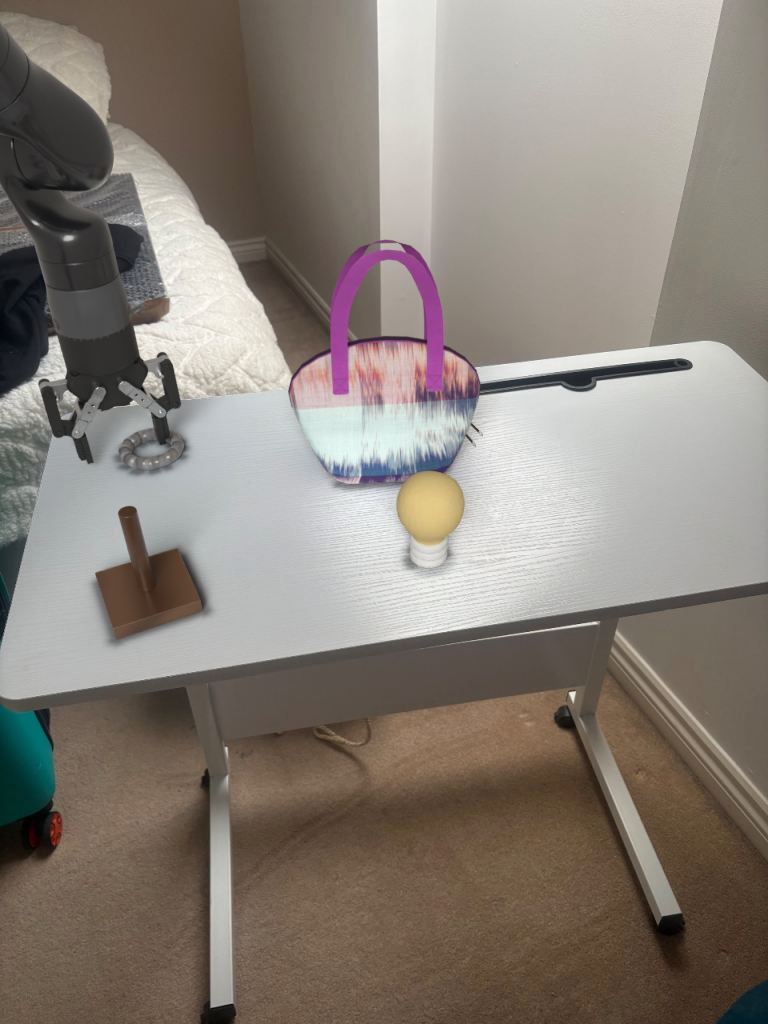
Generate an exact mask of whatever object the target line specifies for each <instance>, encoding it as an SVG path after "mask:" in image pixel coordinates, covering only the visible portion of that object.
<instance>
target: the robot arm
mask: <svg viewBox="0 0 768 1024" xmlns="http://www.w3.org/2000/svg"><path fill="white" fill-rule="evenodd" d="M114 161H115V151H114V146H113V141H112V138H111V136H110V133H109V130H108V128H107V126H106V124H105V123H104V121H103V120H102V118H101V116H100V115H99V114H98V113H97V111H96V110H95V109H94V108H93V107H92V106H91V105H90V104H89V103H88V102H87V101H86V100H84V98H82V97H81V96H80V95H79V94H77V92H75V91H74V90H73V89H71V88H70V87H69V86H67V85H66V84H65V83H64V82H62V81H61V80H60V79H58V78H57V77H56V76H54V75H53V74H52V73H50V71H48V70H46V69H45V68H43V67H42V66H40V65H39V64H37V63H36V62H34V61H33V60H32V59H31V58H30V57H29V55H28V54H27V53H26V52H25V50H24V49H23V47H22V46H21V45H20V44H19V43H18V42H17V40H16V39H15V37H14V36H13V35H12V34H11V32H10V31H9V30H8V29H7V28H6V26H5V25H4V24H3V23H2V21H1V20H0V187H1V190H2V191H3V192H4V194H5V196H6V197H7V199H8V200H9V203H10V204H11V206H12V207H13V209H14V211H15V213H16V214H17V216H18V218H19V220H20V222H21V223H22V226H23V227H24V228H25V230H26V232H27V233H28V235H29V237H30V238H31V240H32V243H33V245H34V249H35V252H36V255H37V259H38V263H39V266H40V271H41V274H42V277H43V280H44V284H45V291H46V297H47V303H48V308H49V312H50V316H51V318H52V319H51V320H52V321H51V322H52V324H53V327H54V330H55V333H56V336H57V341H58V344H59V347H60V350H61V354H62V358H63V361H64V365H65V368H66V373H65V375H64V378H62V379H57V380H51V381H50V380H49V379H48V378H40V379H39V381H38V383H37V385H38V388H39V389H38V390H39V393H40V396H41V399H42V402H43V406H44V410H45V413H46V417H47V420H48V423H49V426H50V430H51V432H52V436H54V438H56V439H61V438H64V437H70V438H71V439H72V440H73V445H74V447H75V450H76V451H75V452H76V454H77V456H78V459H79V460H80V461H81V462H83V461H86V463H87V465H92V464H95V461H94V457H93V454H92V450H91V447H90V443H89V440H88V437H87V434H86V430H87V428H88V425H89V423H92V422H93V419H94V417H95V415H96V413H97V410H98V411H100V412H105V411H106V412H107V411H109V410H112V409H114V408H116V407H127V406H131V403H132V402H133V401H134V402H135V403H137V404H138V405H139V406H141V407H142V408H143V409H145V410H148V411H149V412H150V416H151V420H152V421H151V422H152V425H153V428H154V430H155V435H156V438H157V440H156V441H157V442H158V444H159V446H163V445H166V444H167V442H166V440H165V439H168V438H169V437H170V431H169V430H170V426H169V422H168V417H167V416H168V413H169V412H170V411H172V410H177V409H179V408H181V406H182V400H181V396H180V392H179V386H178V382H177V381H178V380H177V378H176V371H175V368H174V364H173V362H172V361H171V358H170V357H169V355H168V353H166V351H165V352H164V351H160V352H158V353H157V354H156V357H153V358H149V359H146V360H144V359H143V358H142V357H141V354H140V351H139V345H138V340H137V335H136V332H135V327H134V323H133V317H132V308H131V304H130V303H129V299H128V294H127V291H126V287H125V285H124V282H123V280H122V277H121V274H120V270H119V265H118V262H117V256H116V252H115V246H114V242H113V238H112V234H111V230H110V227H109V224H108V222H107V220H106V219H105V218H104V216H103V215H101V214H100V213H98V212H96V211H94V210H91V209H88V208H86V207H83V206H81V205H78V204H77V203H74V202H72V201H71V200H69V199H68V198H67V197H66V196H65V193H63V192H73V193H87V192H91V191H92V192H93V191H95V190H97V189H99V188H100V187H102V186H103V185H104V184H105V183H106V182H107V181H108V179H109V177H110V176H111V174H112V172H113V168H114ZM149 373H153V375H154V376H155V378H157V379H161V384H162V389H163V393H164V394H163V395H161V396H160V397H158V396H156V395H155V394H154V393H153V392H151V390H149V389H148V387H146V386H145V384H144V383H145V380H146V379H147V377H148V375H149ZM67 391H68V392H69V393H70V394H72V395H73V396H75V397H76V399H75V401H74V404H73V409H72V411H71V414H70V416H69V418H68V419H62V416H61V413H60V410H59V409H60V408H59V406H58V404H59V403H61V402H62V401H63V400H64V394H65V393H66V392H67Z"/></svg>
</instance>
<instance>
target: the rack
mask: <svg viewBox="0 0 768 1024" xmlns="http://www.w3.org/2000/svg"><path fill="white" fill-rule="evenodd" d="M117 516H118V519H119V523H120V528H121V530H122V534H123V538H124V541H125V545H126V549H127V553H128V556H129V560H130V561H129V562H126V563H123V564H119V565H116V566H112V567H110V568H106V569H103V570H100V571H96V572H95V573H94V575H95V578H96V583H97V585H98V588H99V591H100V594H101V597H102V600H103V603H104V607H105V610H106V613H107V616H108V619H109V623H110V625H111V629H112V632H113V635H114V637H115V640H120V639H124V638H126V637H130V636H132V635H135V634H138V633H141V632H144V631H148V630H151V629H153V628H157V627H159V626H162V625H166V624H168V623H171V622H174V621H178V620H181V619H185V618H187V617H189V616H193V615H195V614H198V613H201V612H203V611H204V609H203V608H204V607H203V603H202V600H201V597H200V595H199V593H198V590H197V588H196V586H195V584H194V581H193V580H192V577H191V575H190V573H189V570H188V568H187V566H186V564H185V561H184V559H183V557H182V554H181V552H180V550H179V548H178V547H176V548H172V549H169V550H166V551H163V552H159V553H156V554H153V555H149V552H148V548H147V545H146V541H145V536H144V533H143V529H142V524H141V521H140V517H139V513H138V509H137V508H136V507H135V506H133V505H125V506H122V507H120V508H119V510H118V511H117Z"/></svg>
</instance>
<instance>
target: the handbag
mask: <svg viewBox="0 0 768 1024" xmlns="http://www.w3.org/2000/svg"><path fill="white" fill-rule="evenodd" d="M376 244H377V245H378V244H399V245H400V246H401V248H402V249H403V250H404V251H402V250H398V249H397V250H396V249H381V250H374V251H370V252H369V253H367V254H365V253H366V251H367V250H368V248H369V247H370V246H372V245H376ZM364 254H365V255H364ZM384 261H396V262H398V263H400V264H401V265H403V266H404V267H405V268H406V269H407V271H408V272H409V274H410V275H411V277H412V280H413V281H414V283H415V285H416V288H417V290H418V292H419V295H420V298H421V300H422V309H423V338H420V337H414V336H406V335H379V336H371V337H363V338H362V337H361V338H357V339H354V340H350V341H348V334H349V333H348V331H349V320H350V319H349V318H350V312H351V308H352V304H353V302H354V299H355V297H356V294H357V292H358V290H359V288H360V286H361V284H362V282H363V280H364V278H365V276H366V275H367V273H368V272H369V270H370V269H371V268H372V267H373V266H375V265H376V264H378V263H380V262H384ZM330 304H331V305H330V321H329V323H330V324H329V325H330V327H329V328H330V329H329V331H330V332H329V333H330V337H329V338H330V347H329V348H327V349H324V350H322V351H320V352H317V353H316V354H314V355H313V356H311V357H310V358H308V359H307V360H305V361H304V362H302V363H301V364H300V366H299V367H298V368H297V370H296V371H295V372H294V374H293V375H292V376H291V378H290V381H289V385H288V390H287V392H288V397H289V402H290V407H291V408H292V411H293V413H294V415H295V418H296V420H297V422H298V424H299V427H300V428H301V431H302V433H303V434H304V436H305V438H306V440H307V441H308V444H309V445H310V447H311V449H312V451H313V452H314V454H315V456H316V457H317V459H318V461H319V462H320V464H321V465H322V467H323V469H324V470H325V471H326V472H328V473H329V474H330V475H331V476H332V477H333V479H335V481H337V482H341V483H344V484H347V485H362V484H363V485H364V484H365V485H367V484H383V483H405V482H406V480H407V479H408V478H410V477H411V476H412V475H414V474H416V473H418V472H422V471H436V472H440V473H444V474H445V472H446V471H448V469H449V468H450V467H451V466H452V464H453V463H454V462H455V459H456V457H457V456H458V454H459V452H460V450H461V448H462V445H463V443H464V441H465V439H467V440H468V441H469V442H470V443H471V444H472V446H473V447H474V448H476V447H477V445H476V443H475V442H474V441H473V439H472V438H471V437H470V436H469V435H468V431H469V429H470V427H472V429H474V430H475V431H476V432H477V434H479V435H480V436H481V437H483V436H484V435H483V432H482V431H481V430H480V429H479V428H478V427H477V426H476V425H475V424H473V422H472V421H473V419H474V415H475V412H476V409H477V406H478V403H479V399H480V393H481V380H480V377H479V373H478V370H477V369H476V368H475V366H474V365H473V364H472V363H471V362H470V361H469V359H468V358H467V357H466V356H465V355H463V354H461V353H459V351H457V350H455V349H454V348H452V347H450V346H448V345H445V344H444V342H445V341H444V338H445V337H444V336H445V335H444V316H443V315H444V314H443V307H442V302H441V298H440V296H439V292H438V287H437V284H436V281H435V279H434V276H433V273H432V272H431V270H430V267H429V265H428V264H427V261H426V260H425V259H424V257H423V256H422V254H421V253H420V252H419V251H418V250H417V249H416V248H415V247H413V246H412V245H411V244H406V243H402V242H400V241H396V240H393V239H382V240H376V241H373V242H372V243H368V244H365V245H363V246H359V247H358V248H356V250H355V251H354V252H352V253H351V254H350V256H349V257H348V258H347V260H346V261H345V264H344V265H343V267H342V269H341V271H340V273H339V276H338V278H337V280H336V283H335V286H334V289H333V293H332V298H331V303H330Z"/></svg>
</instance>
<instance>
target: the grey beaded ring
mask: <svg viewBox="0 0 768 1024" xmlns="http://www.w3.org/2000/svg"><path fill="white" fill-rule="evenodd" d="M169 431H170V437H169V438H168V439H165V440H166V443H169V444H170V447H169V449H168V450H166V451H165V452H163V453H161V454H158V455H154V456H150V457H149V456H138V455H136V454H134V453H133V451H134V449H135V448H136V447H138V446H139V445H141V444H143V443H147V442H151V441H158V440H157V438H156V435H155V430H154V427H151V428H146V429H143V430H139V431H136V432H134V433H132V434H131V435H129V436H127V437H126V438H124V439H123V440H122V443H121V444H120V446H119V448H118V450H117V451H118V455H119V457H120V461H121V462H122V463H123V464H124V465H126V466H128V467H130V468H133V469H135V470H146V471H153V470H157V469H161V468H164V467H167V466H170V465H171V464H172V463H174V462H175V461H176V460H178V459H179V458H180V457H181V456H182V453H183V452H184V448H185V442H184V441H183V439H182V437H181V435H180V434H179V433H177V432H175V431H173V430H171V429H169Z"/></svg>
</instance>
